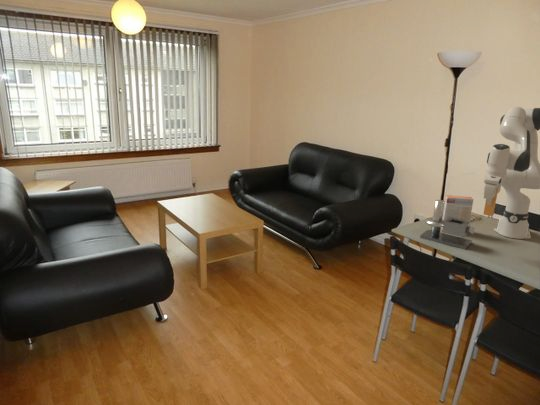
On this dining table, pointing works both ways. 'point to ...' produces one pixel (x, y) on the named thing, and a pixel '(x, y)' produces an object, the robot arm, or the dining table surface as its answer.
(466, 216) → the cracker box
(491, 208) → the orange rectangular bar
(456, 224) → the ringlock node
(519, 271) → the dining table surface
